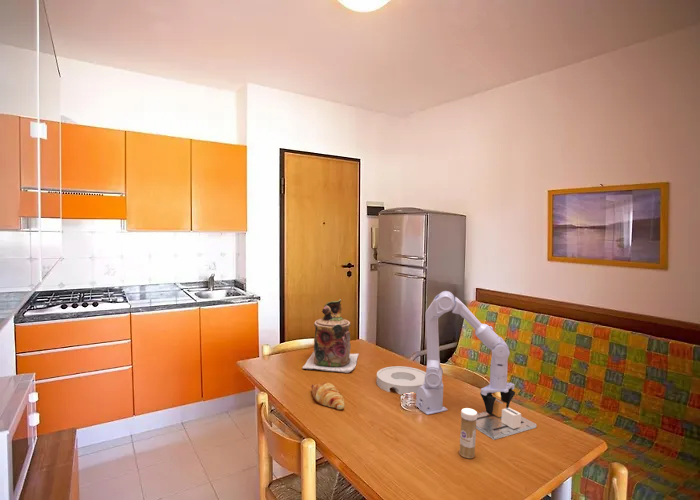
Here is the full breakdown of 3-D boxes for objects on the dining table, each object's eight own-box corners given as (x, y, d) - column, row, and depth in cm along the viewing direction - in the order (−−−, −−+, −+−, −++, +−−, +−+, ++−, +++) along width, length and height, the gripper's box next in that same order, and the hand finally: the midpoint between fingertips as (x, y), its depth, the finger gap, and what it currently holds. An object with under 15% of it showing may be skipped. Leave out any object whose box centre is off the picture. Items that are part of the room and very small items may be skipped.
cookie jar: (313, 354, 207) (314, 294, 205) (359, 357, 204) (361, 296, 202) (300, 370, 182) (302, 302, 181) (353, 374, 179) (355, 305, 178)
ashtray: (389, 398, 155) (389, 388, 155) (368, 377, 177) (368, 368, 177) (440, 392, 163) (440, 383, 162) (414, 372, 185) (414, 364, 184)
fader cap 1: (498, 417, 138) (499, 403, 138) (487, 411, 143) (488, 398, 143) (505, 415, 140) (506, 402, 140) (494, 409, 144) (495, 396, 144)
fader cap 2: (513, 428, 130) (513, 414, 130) (501, 422, 135) (501, 408, 134) (520, 426, 132) (521, 412, 132) (508, 420, 136) (509, 406, 136)
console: (495, 440, 125) (495, 436, 125) (461, 419, 139) (461, 415, 139) (537, 428, 134) (538, 424, 134) (502, 409, 148) (502, 406, 148)
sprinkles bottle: (456, 455, 117) (458, 410, 116) (463, 448, 120) (465, 405, 119) (471, 461, 114) (473, 416, 113) (477, 454, 117) (479, 410, 116)
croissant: (349, 418, 145) (357, 397, 146) (330, 412, 139) (339, 391, 141) (317, 397, 161) (325, 378, 163) (299, 391, 155) (307, 371, 157)
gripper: (492, 381, 134) (490, 420, 134) (522, 375, 140) (520, 412, 141) (477, 374, 140) (475, 411, 141) (506, 368, 147) (504, 404, 147)
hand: (496, 411), depth 141 cm, fingers open, 7 cm apart
